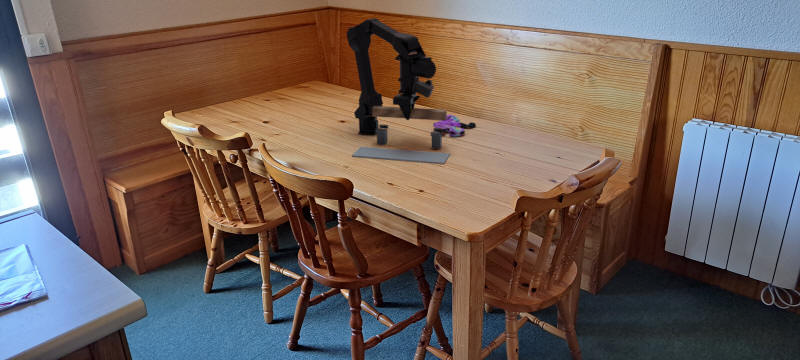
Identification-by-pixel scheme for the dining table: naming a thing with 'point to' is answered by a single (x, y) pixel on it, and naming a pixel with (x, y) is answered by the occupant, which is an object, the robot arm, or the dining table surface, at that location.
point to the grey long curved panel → (401, 155)
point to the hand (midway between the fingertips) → (409, 118)
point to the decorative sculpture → (453, 126)
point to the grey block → (437, 138)
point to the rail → (415, 113)
